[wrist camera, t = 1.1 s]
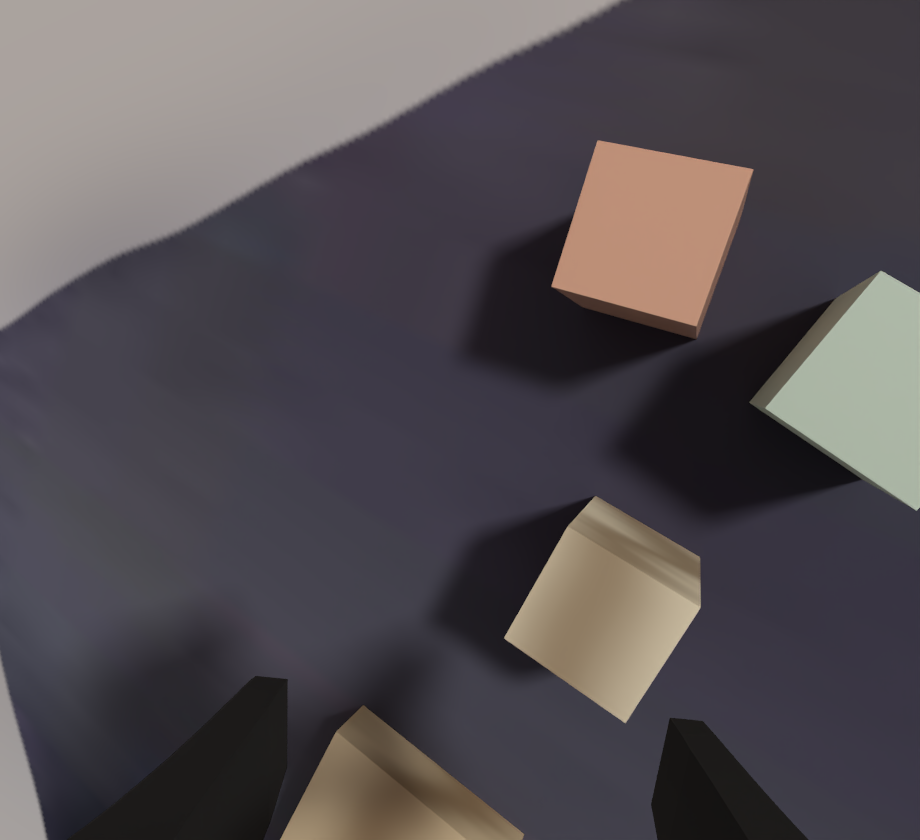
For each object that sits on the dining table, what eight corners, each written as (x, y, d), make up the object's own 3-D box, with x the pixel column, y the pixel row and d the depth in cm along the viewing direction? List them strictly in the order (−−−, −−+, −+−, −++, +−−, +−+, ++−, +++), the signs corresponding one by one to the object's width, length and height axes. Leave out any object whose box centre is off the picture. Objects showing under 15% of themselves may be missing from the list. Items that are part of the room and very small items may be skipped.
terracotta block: (740, 219, 20) (753, 169, 15) (696, 339, 20) (696, 326, 16) (619, 194, 21) (597, 140, 16) (582, 307, 22) (551, 286, 17)
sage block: (959, 373, 18) (1053, 370, 13) (862, 479, 19) (916, 510, 14) (835, 298, 19) (881, 270, 14) (748, 402, 20) (764, 408, 15)
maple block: (700, 557, 21) (700, 607, 16) (640, 650, 22) (625, 723, 17) (595, 495, 22) (567, 526, 17) (543, 586, 23) (504, 638, 18)
